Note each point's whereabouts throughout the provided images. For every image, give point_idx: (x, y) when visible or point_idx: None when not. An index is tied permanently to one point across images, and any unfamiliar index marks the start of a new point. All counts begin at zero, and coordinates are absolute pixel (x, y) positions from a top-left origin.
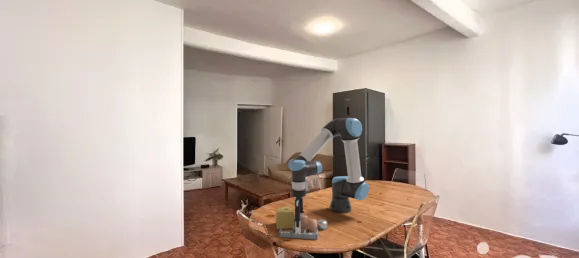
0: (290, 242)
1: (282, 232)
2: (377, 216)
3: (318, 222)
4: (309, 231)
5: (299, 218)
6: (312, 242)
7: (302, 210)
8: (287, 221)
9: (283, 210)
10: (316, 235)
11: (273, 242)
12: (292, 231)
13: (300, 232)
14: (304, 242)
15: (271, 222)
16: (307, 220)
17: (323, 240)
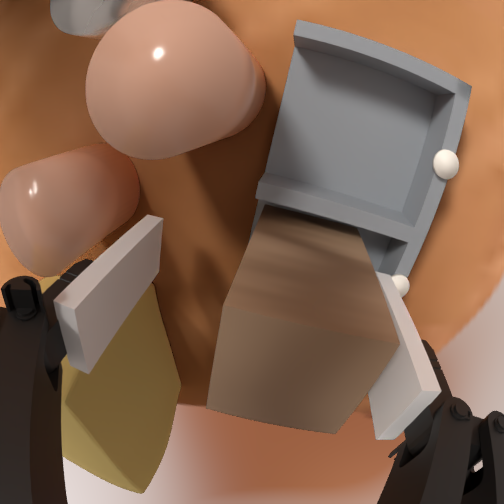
0: (437, 334)
1: None
2: None
3: (129, 5)
4: (243, 129)
5: (497, 447)
6: (492, 158)
7: (26, 354)
8: (139, 372)
9: (74, 449)
10: (466, 95)
11: None
12: None
13: (387, 275)
14: (477, 230)
15: None
16: (63, 156)
17: (465, 39)
